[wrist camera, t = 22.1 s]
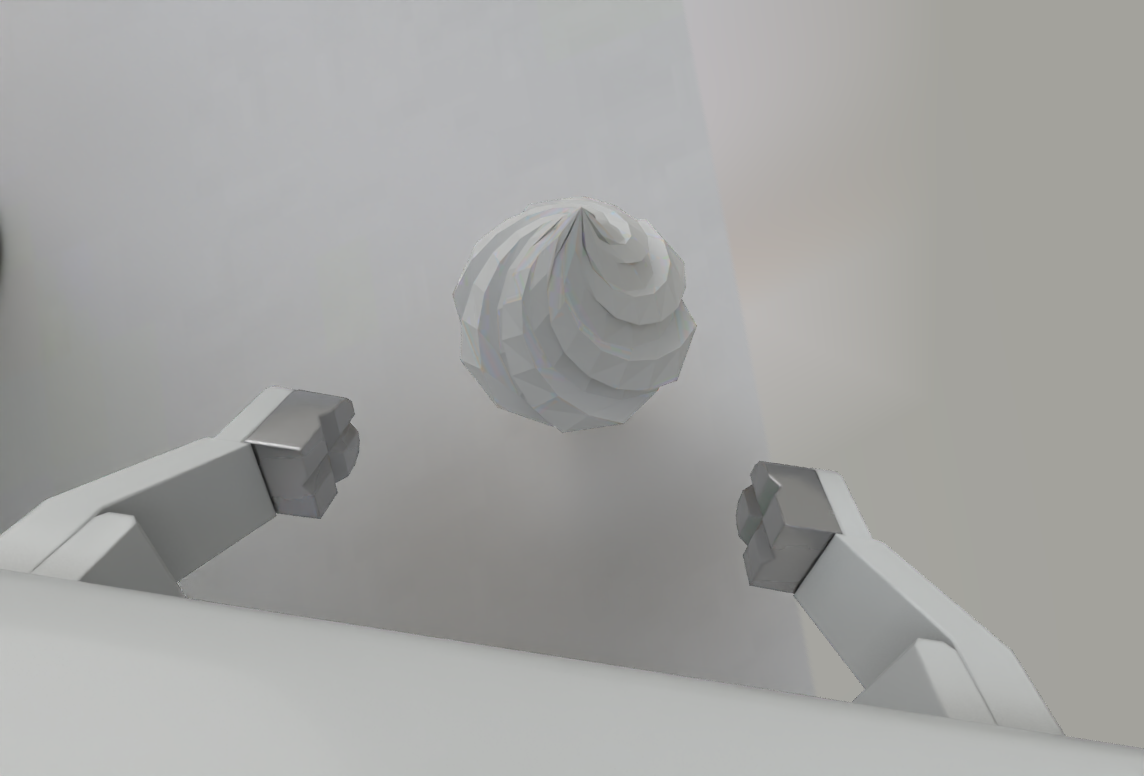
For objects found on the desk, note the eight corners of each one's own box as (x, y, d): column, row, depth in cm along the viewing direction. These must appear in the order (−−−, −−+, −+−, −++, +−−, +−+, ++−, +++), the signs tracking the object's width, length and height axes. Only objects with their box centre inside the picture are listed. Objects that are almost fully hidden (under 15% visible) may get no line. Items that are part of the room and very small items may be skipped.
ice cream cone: (482, 363, 22) (308, 140, 7) (591, 301, 22) (646, -29, 7) (546, 473, 21) (503, 489, 6) (657, 407, 22) (862, 275, 7)
